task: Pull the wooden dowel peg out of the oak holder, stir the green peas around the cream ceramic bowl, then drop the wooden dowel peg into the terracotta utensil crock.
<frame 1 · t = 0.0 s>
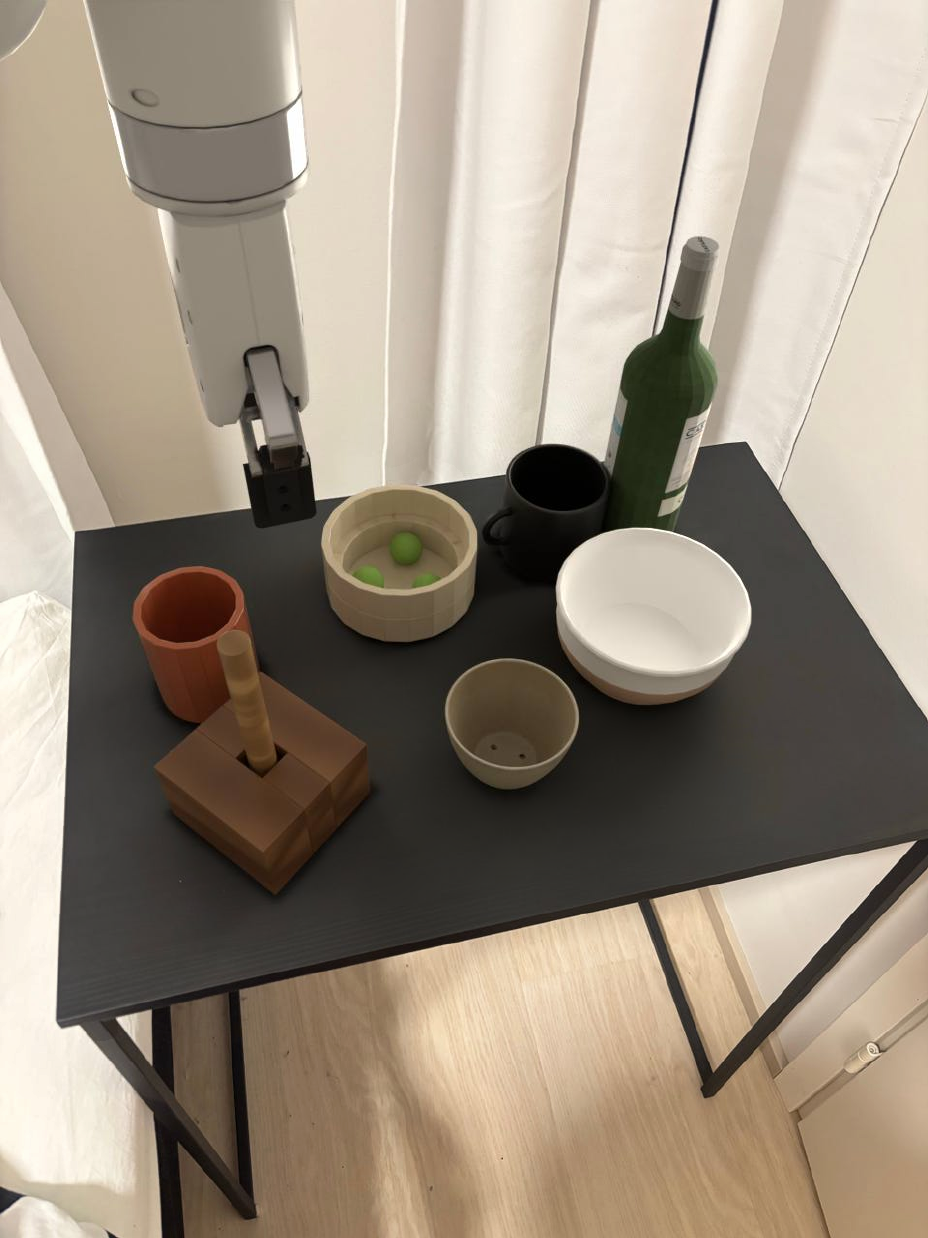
hand: (266, 460, 51), 30 cm above the table, tool pointing down, fingers open, 9 cm apart
mixing bowl: (401, 590, 85), on the table
mug: (535, 552, 89), on the table
pea 3: (428, 590, 82), point 2 cm above the table, touching mixing bowl
bowl: (635, 655, 82), on the table
pea 2: (367, 583, 83), point 2 cm above the table, touching mixing bowl
pea 1: (406, 548, 86), point 2 cm above the table, touching mixing bowl
flower pot: (504, 762, 74), on the table
holder: (273, 802, 71), on the table
wine bottle: (630, 533, 91), on the table
crock: (211, 682, 78), on the table
wooden dowel peg: (255, 732, 63), in the holder
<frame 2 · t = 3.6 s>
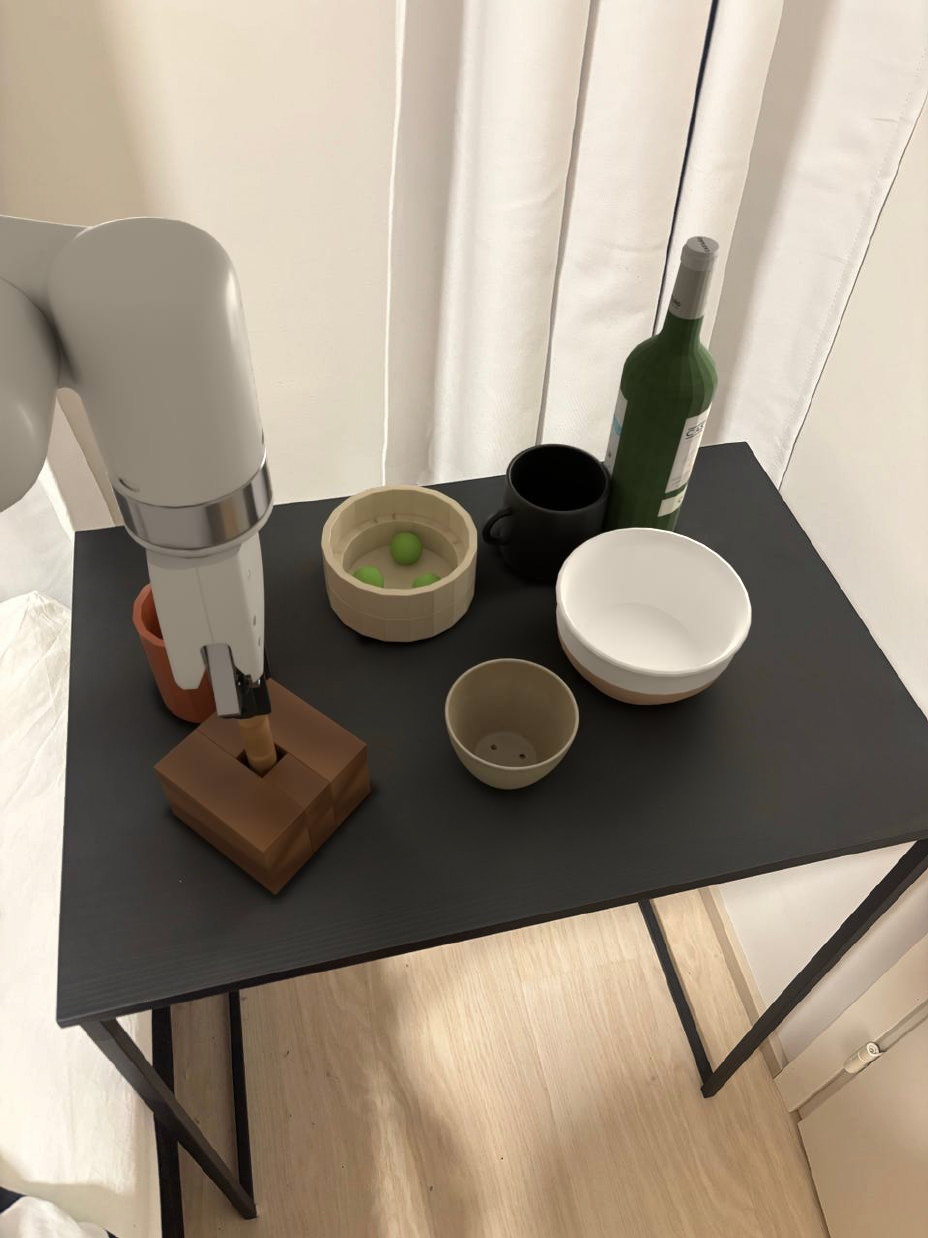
hand: (246, 694, 60), 15 cm above the table, tool pointing down, fingers closed on wooden dowel peg, 2 cm apart
wooden dowel peg: (255, 732, 63), in the holder, touching gripper
everything else where it was.
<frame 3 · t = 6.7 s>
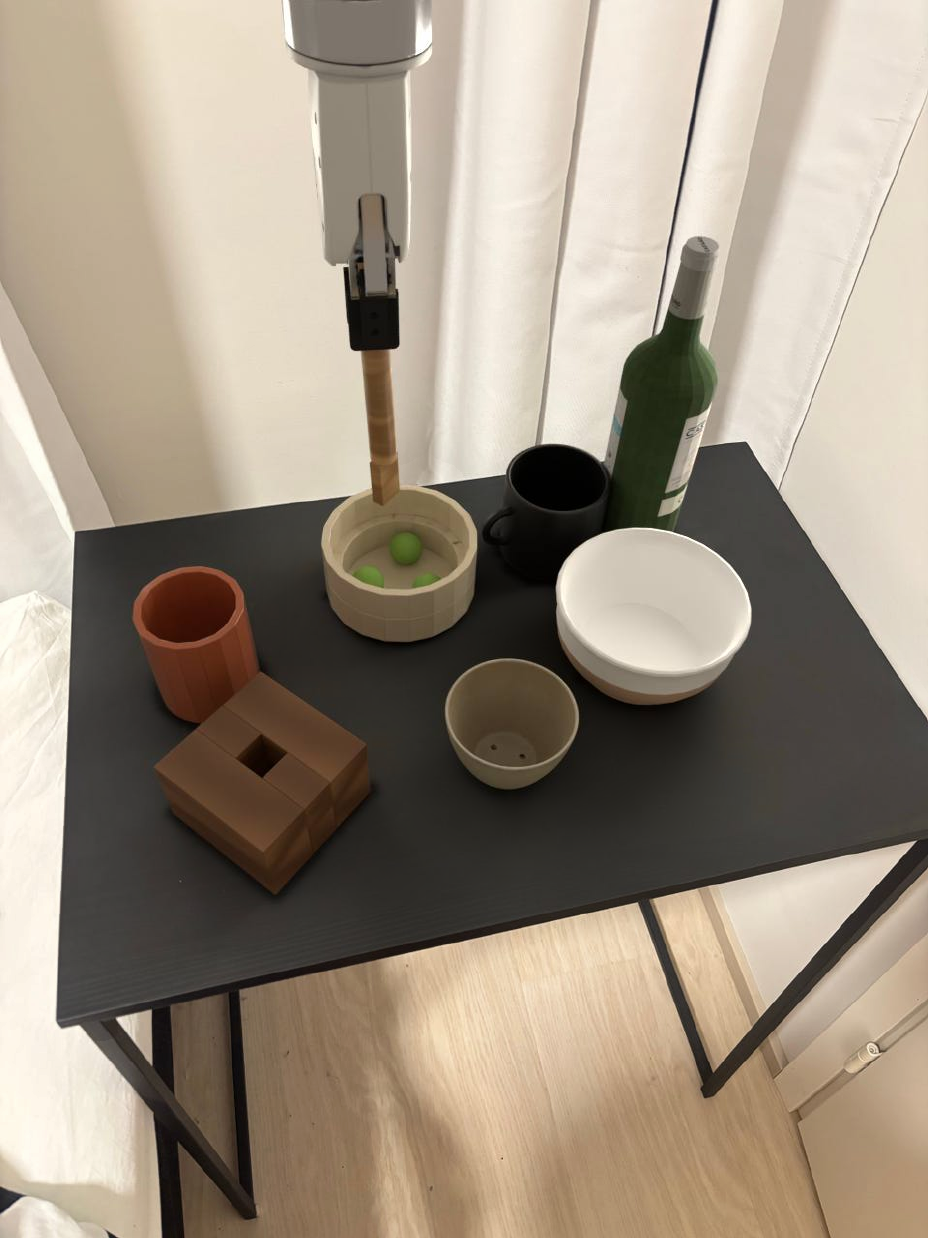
hand: (372, 333, 61), 29 cm above the table, tool pointing down, fingers closed on wooden dowel peg
wooden dowel peg: (378, 390, 64), point 25 cm above the table, touching gripper
everything else where it was.
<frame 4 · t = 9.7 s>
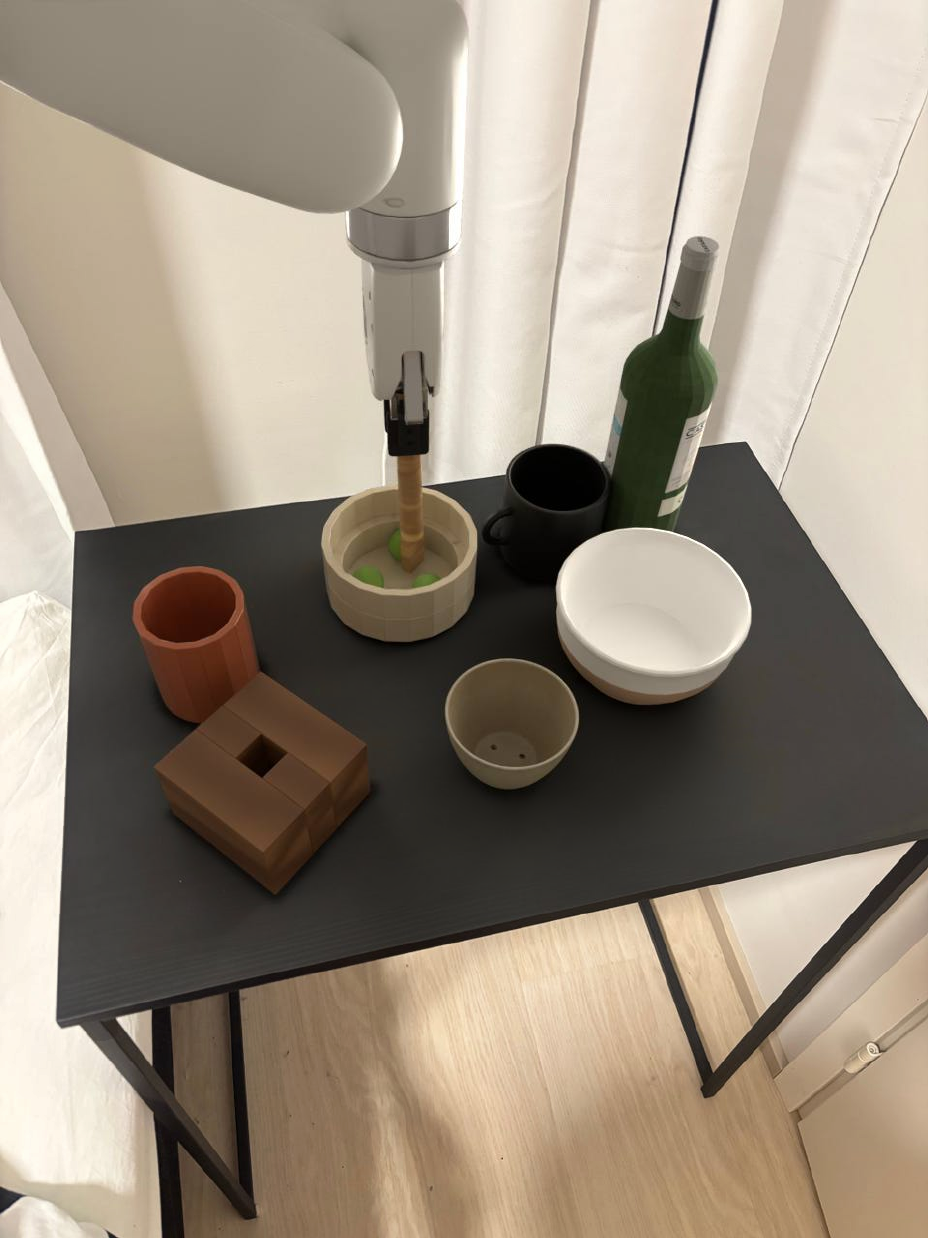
hand: (406, 440, 73), 17 cm above the table, tool pointing down, fingers closed on wooden dowel peg, 2 cm apart
pea 1: (404, 544, 86), point 2 cm above the table, tilted 16°, touching mixing bowl, wooden dowel peg
wooden dowel peg: (409, 483, 77), point 12 cm above the table, touching gripper, pea 1
everything else where it was.
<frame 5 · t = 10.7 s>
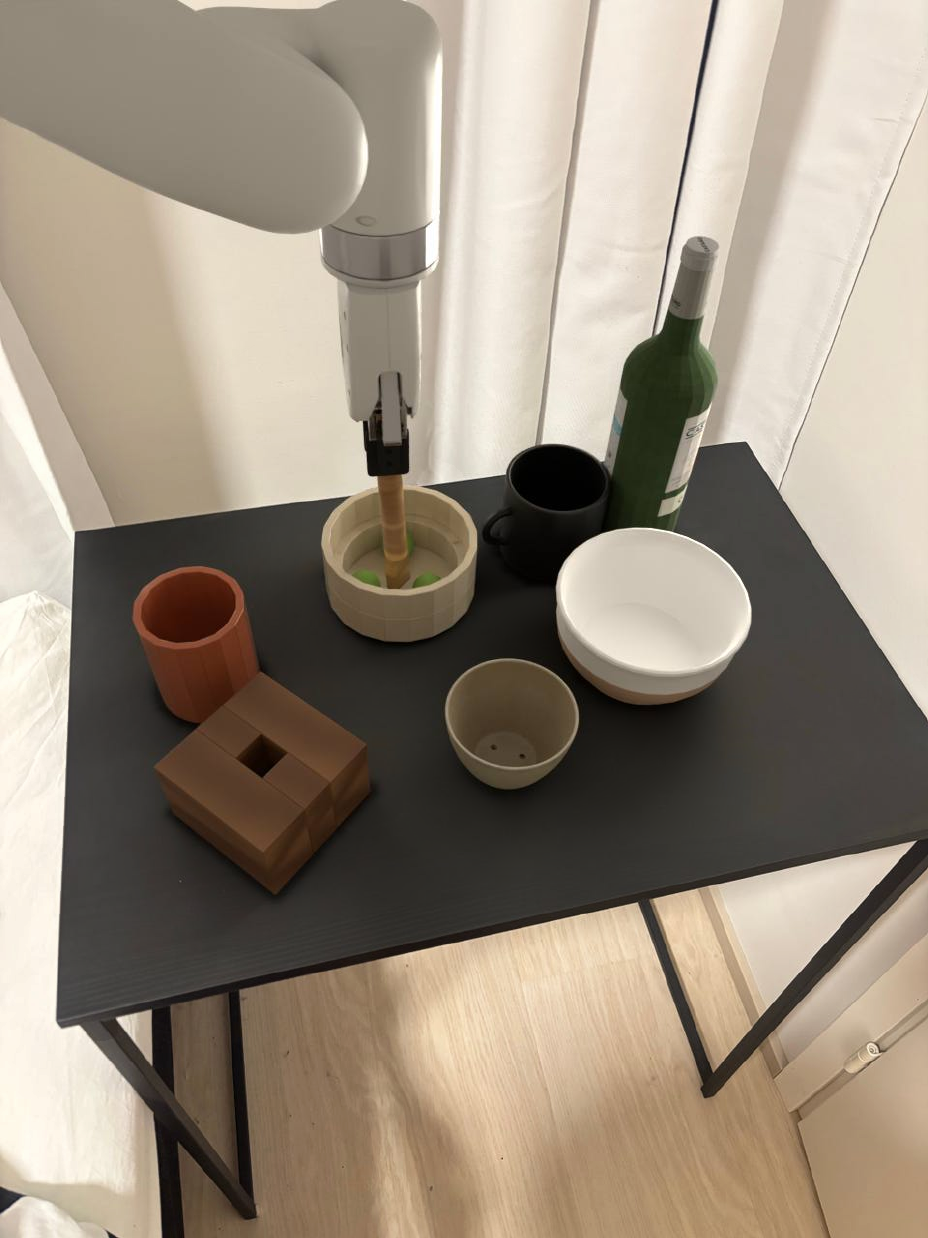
hand: (386, 459, 72), 17 cm above the table, tool pointing down, fingers closed on wooden dowel peg, 2 cm apart
pea 2: (363, 586, 82), point 2 cm above the table, tilted 19°, touching mixing bowl
pea 1: (397, 545, 86), point 2 cm above the table, tilted 11°, touching mixing bowl
wooden dowel peg: (391, 502, 75), point 12 cm above the table, touching gripper
everything else where it was.
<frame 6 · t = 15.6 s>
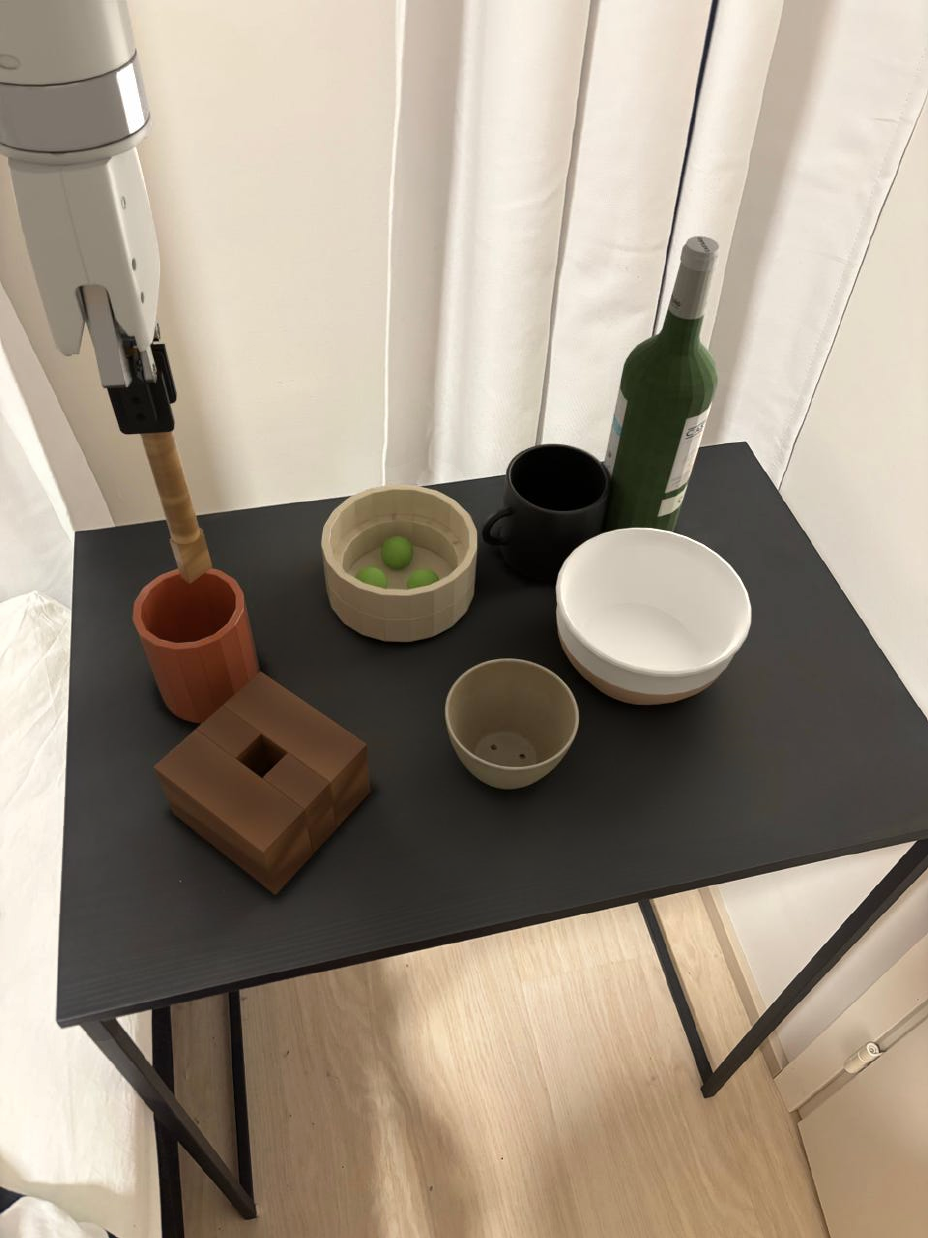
hand: (149, 414, 57), 28 cm above the table, tool pointing down, fingers closed on wooden dowel peg
pea 3: (423, 585, 83), point 2 cm above the table, tilted 28°, touching mixing bowl
pea 2: (370, 583, 83), point 2 cm above the table, tilted 11°, touching mixing bowl
pea 1: (397, 552, 85), point 2 cm above the table, tilted 22°, touching mixing bowl
wooden dowel peg: (167, 469, 61), point 23 cm above the table, touching gripper
everything else where it was.
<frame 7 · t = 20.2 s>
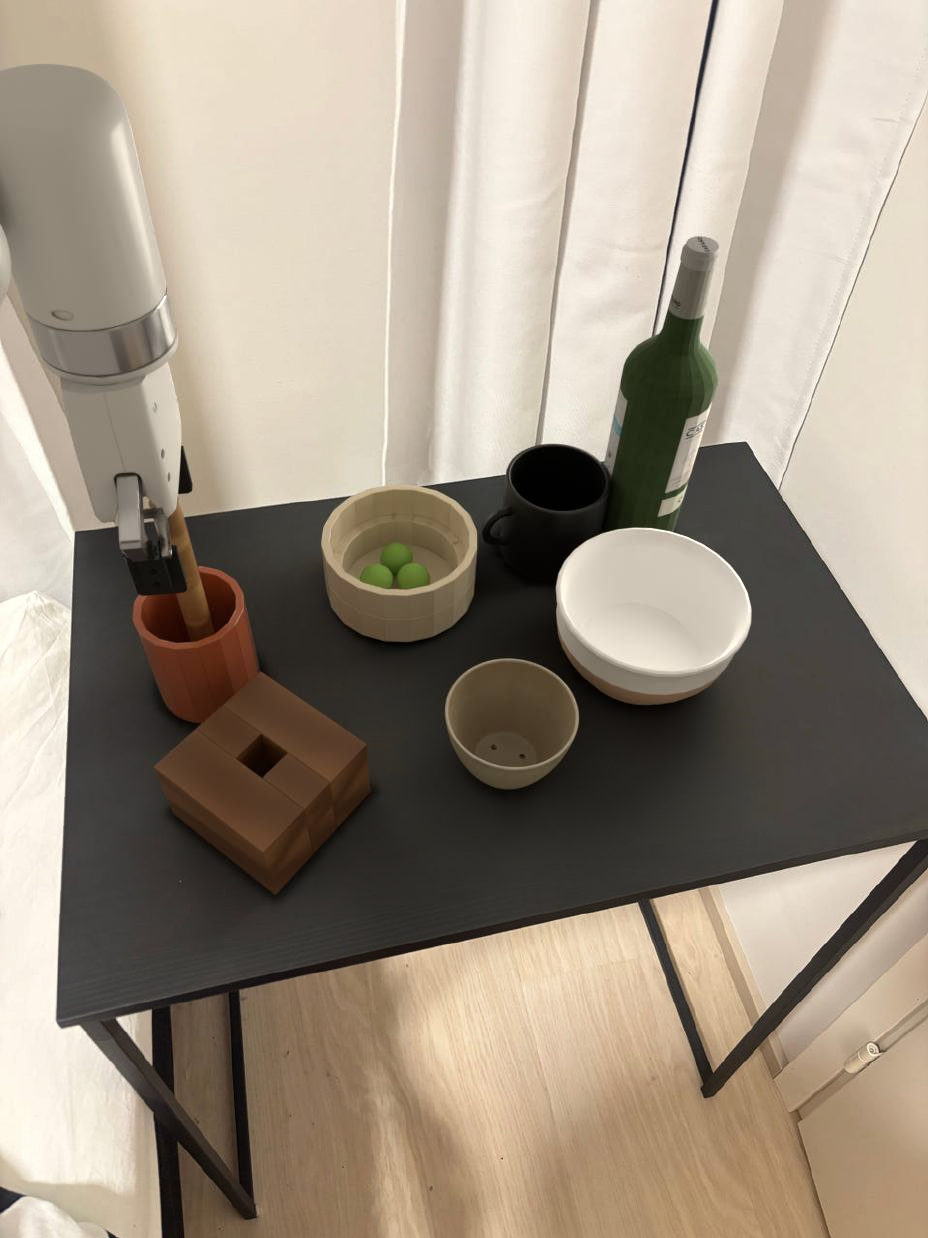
hand: (167, 539, 65), 17 cm above the table, tool pointing down, fingers open, 9 cm apart
pea 3: (413, 579, 83), point 2 cm above the table, tilted 72°, touching mixing bowl
pea 2: (376, 580, 83), point 2 cm above the table, tilted 34°, touching mixing bowl
pea 1: (396, 558, 85), point 2 cm above the table, tilted 52°, touching mixing bowl
wooden dowel peg: (191, 598, 70), in the crock, point 11 cm above the table
everything else where it was.
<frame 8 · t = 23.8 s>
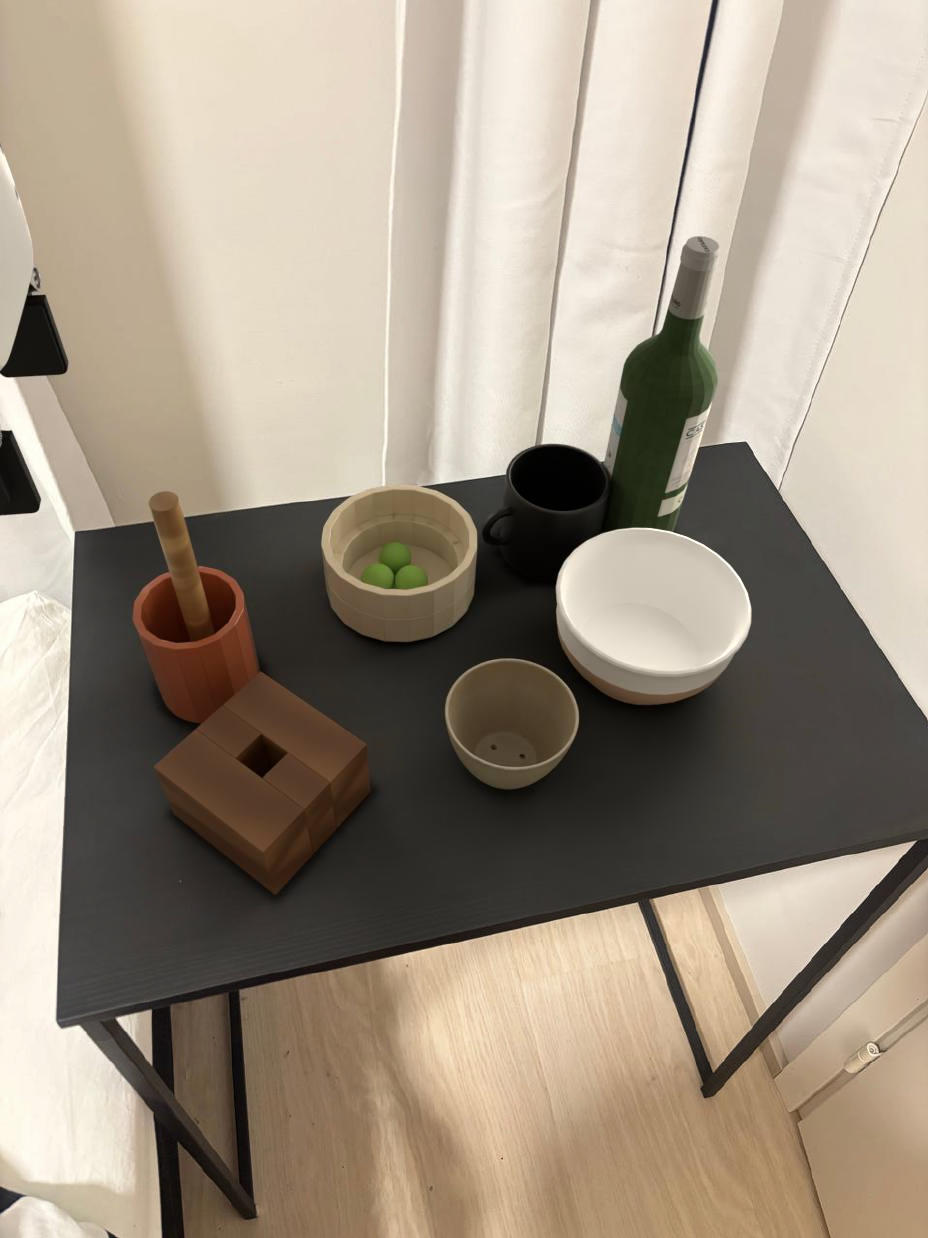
hand: (20, 436, 42), 36 cm above the table, tool pointing down, fingers open, 9 cm apart
nothing on the table moved.
at the end: wooden dowel peg 0.4 cm off-centre in the crock, point 10.8 cm above the crock's base; pea 1 moved 1.6 cm from its start; pea 1 2.0 cm from the mixing bowl (horizontally) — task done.
